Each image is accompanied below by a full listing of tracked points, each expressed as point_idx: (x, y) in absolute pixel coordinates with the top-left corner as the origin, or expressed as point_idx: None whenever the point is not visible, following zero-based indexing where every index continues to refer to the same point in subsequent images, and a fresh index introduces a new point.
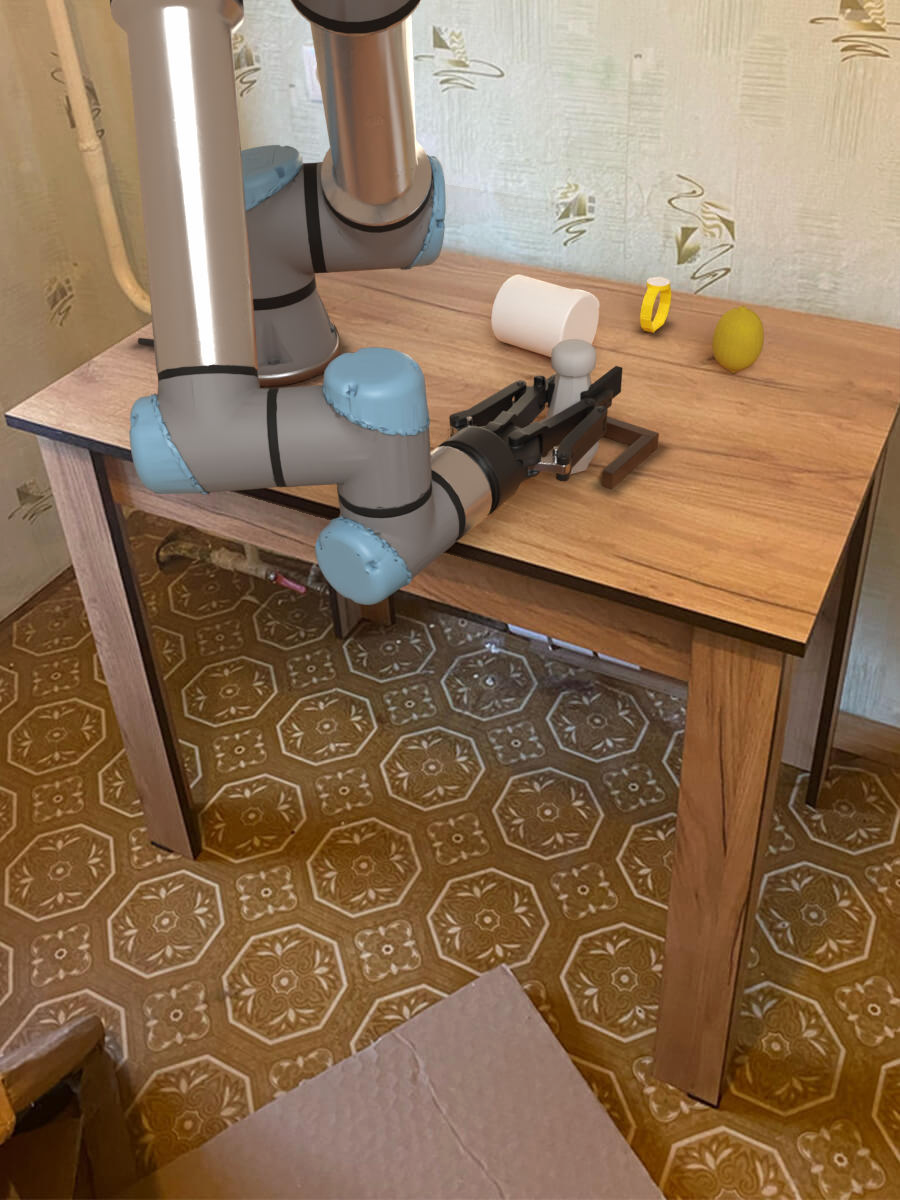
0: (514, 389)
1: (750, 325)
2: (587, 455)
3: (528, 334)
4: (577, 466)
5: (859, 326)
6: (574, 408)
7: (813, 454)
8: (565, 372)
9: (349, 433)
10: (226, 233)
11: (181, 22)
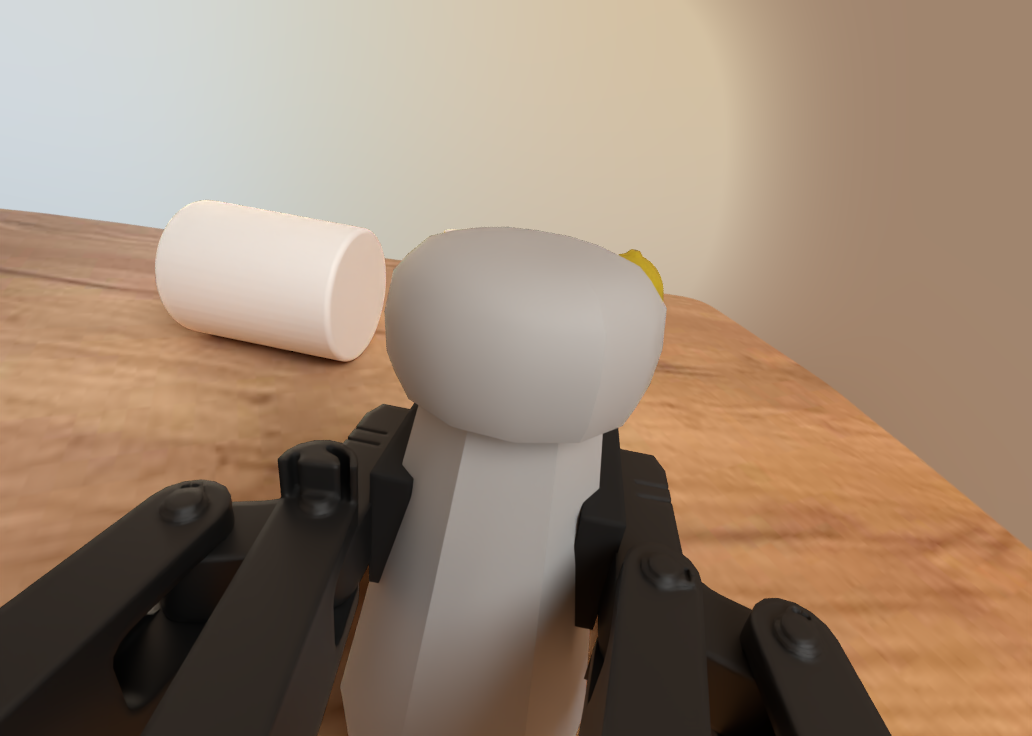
0: (127, 580)
1: (656, 278)
2: None
3: (249, 308)
4: None
5: (671, 296)
6: (653, 689)
7: (883, 494)
8: (532, 422)
9: None
10: None
11: None
